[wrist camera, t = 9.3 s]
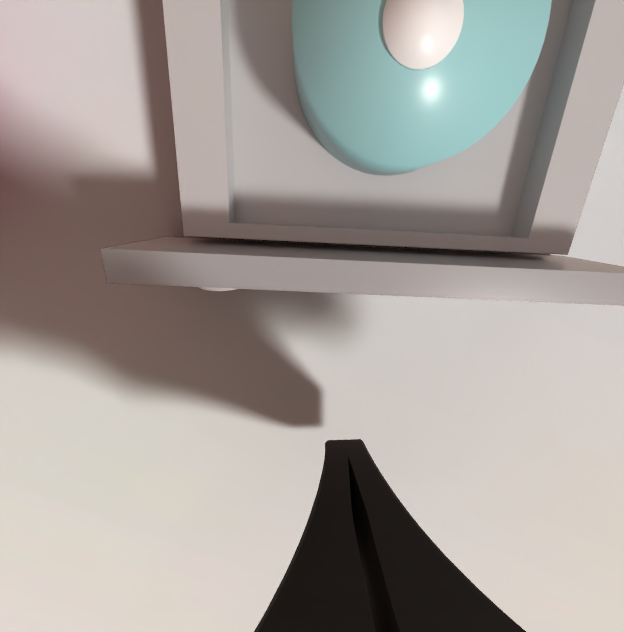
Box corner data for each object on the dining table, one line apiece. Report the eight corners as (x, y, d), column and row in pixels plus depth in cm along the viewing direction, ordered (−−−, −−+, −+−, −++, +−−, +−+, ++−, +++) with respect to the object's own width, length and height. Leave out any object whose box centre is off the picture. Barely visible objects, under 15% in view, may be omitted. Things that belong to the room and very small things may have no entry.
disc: (461, 185, 9) (507, 177, 7) (287, 164, 9) (282, 150, 7) (519, -48, 7) (601, -146, 5) (304, -85, 7) (305, -205, 5)
